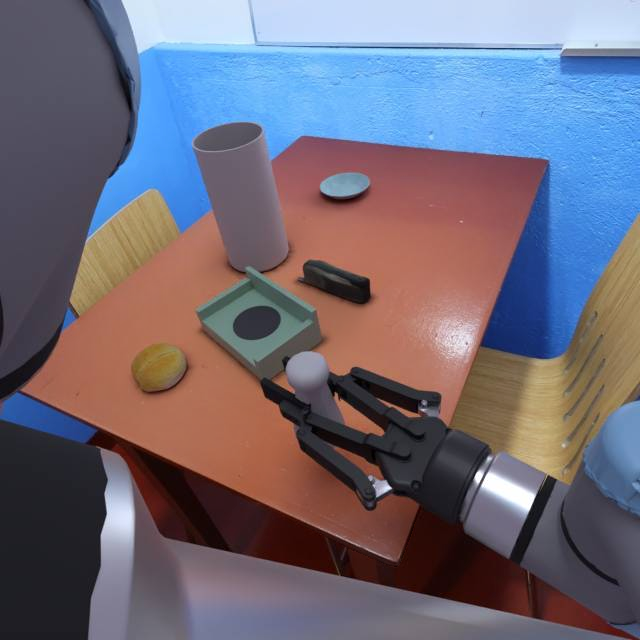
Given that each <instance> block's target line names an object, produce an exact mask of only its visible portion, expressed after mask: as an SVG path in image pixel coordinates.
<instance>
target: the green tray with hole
mask: <svg viewBox="0 0 640 640" xmlns="http://www.w3.org/2000/svg"><path fill="white" fill-rule="evenodd" d="M244 273H245V276H246V277H245V278H244V279H242V280H240V281H239V282H237V283H235V284H234V285H232V286H230V287H229V288H226V289H225V290H224V291H222V292H220V293H219V294H217V295H216V296H214V297H212V298H211V299H210V300H208V301H206V302H204V303H203V304H201V305H199V306H198V307H196V308H195V309H194V311H195V313H196V316H197V318H198V321H199V323H200V325H201V328H202V331H204V332H205V333H206V335H208V336H209V337H211V338H212V340H214V341H215V342H216V343H218V344H219V345H220V346H221V347H222V348H223V349H224V350H225V351H227V352H228V353H229V354H230V355H231V356H232V357H233V358H235V359H236V360H237V361H238V362H240V364H242V365H243V366H244V367H245V368H246V369H247V370H249V371H250V373H251V374H253V375H254V376H255V377H256V378H258V379H259V380H260V381H261V380H262V379H263V378H264V377H265V378H267V379H269V380H270V381H271V380H272V379H273V378H275V377H276V376H277V375H279V374H281V372H282V371H285V370H284V366H283V362H282V359H283V358H284V357H285V356H288V357H290V358H292V357H293V356H294V355H296V354H299V353H301V352H306V351H311V350H312V349H313V348H314V347H316V346H318V344H320V343H321V342H323V337H322V332H321V327H320V322H319V317H318V310H317V309H316V308H315V307H314V306H312V305H310V304H309V303H308V302H306V301H304V300H303V299H301V298H300V297H298V296H297V295H295V294H293V293H292V292H290V291H289V290H288V289H286V288H284V287H283V286H281V285H280V284H278V283H277V282H275V281H274V280H272V279H270V278H269V277H267V276H265V275H264V274H262V272H258V271H256V270H255V269H253V268H252V267H250V266H247V267H246V268H245V272H244Z"/></svg>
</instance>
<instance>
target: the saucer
mask: <svg viewBox="0 0 640 640" xmlns="http://www.w3.org/2000/svg"><path fill="white" fill-rule="evenodd" d="M370 185H371V180H370V178H369V177H368V176H367V175H365V174H363V173H359V172H340V173H336V174H333V175H331V176H328V177H326V178H325V179H323V181H321V183H320V184H319V190H320V192H322V194H324V195H326V196H327V197H329V198H332V199H335V200H348V199H353V198H355V197H357V196H359V195H361V194H363V192H365V191H366V190H367V189H368V187H369V186H370Z"/></svg>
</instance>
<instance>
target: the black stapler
mask: <svg viewBox="0 0 640 640" xmlns="http://www.w3.org/2000/svg"><path fill="white" fill-rule="evenodd" d="M302 273H303V277H301V276H298V277H297V281H300V282H302V283H306V284H309V285H312V286H314V287H317V288H319V289H321V290H324V291H327V292H330V293H332V294H334V295H336V296H339V297H341V298H344V299H347V300H349V301H351V302H353V303H358V304H363V303H366V302H368V301H369V300H370V298H371V296H372V294H371V293H372V292H371V280H370V278H368V277H366V276H362V275H359V274H357V273H354V272H351V271H349V270H346V269H342V268H340V267H337V266H335V265H332V264H331V263H328V262H326V261H324V260H321V259H308V260H306V261H305V262H304V264H303V265H302Z"/></svg>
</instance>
